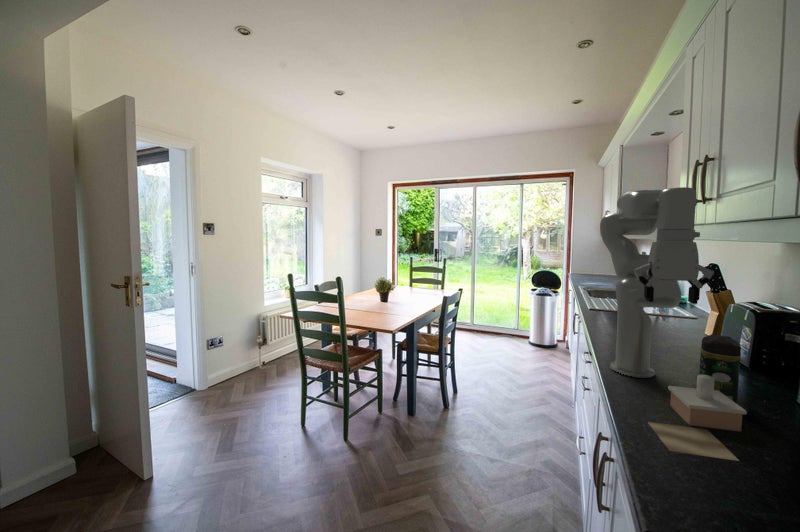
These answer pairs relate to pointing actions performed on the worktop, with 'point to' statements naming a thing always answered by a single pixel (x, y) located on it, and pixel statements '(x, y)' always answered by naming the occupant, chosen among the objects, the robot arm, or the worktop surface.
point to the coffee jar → (721, 363)
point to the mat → (691, 441)
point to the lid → (706, 397)
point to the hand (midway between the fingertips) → (670, 302)
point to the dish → (707, 416)
